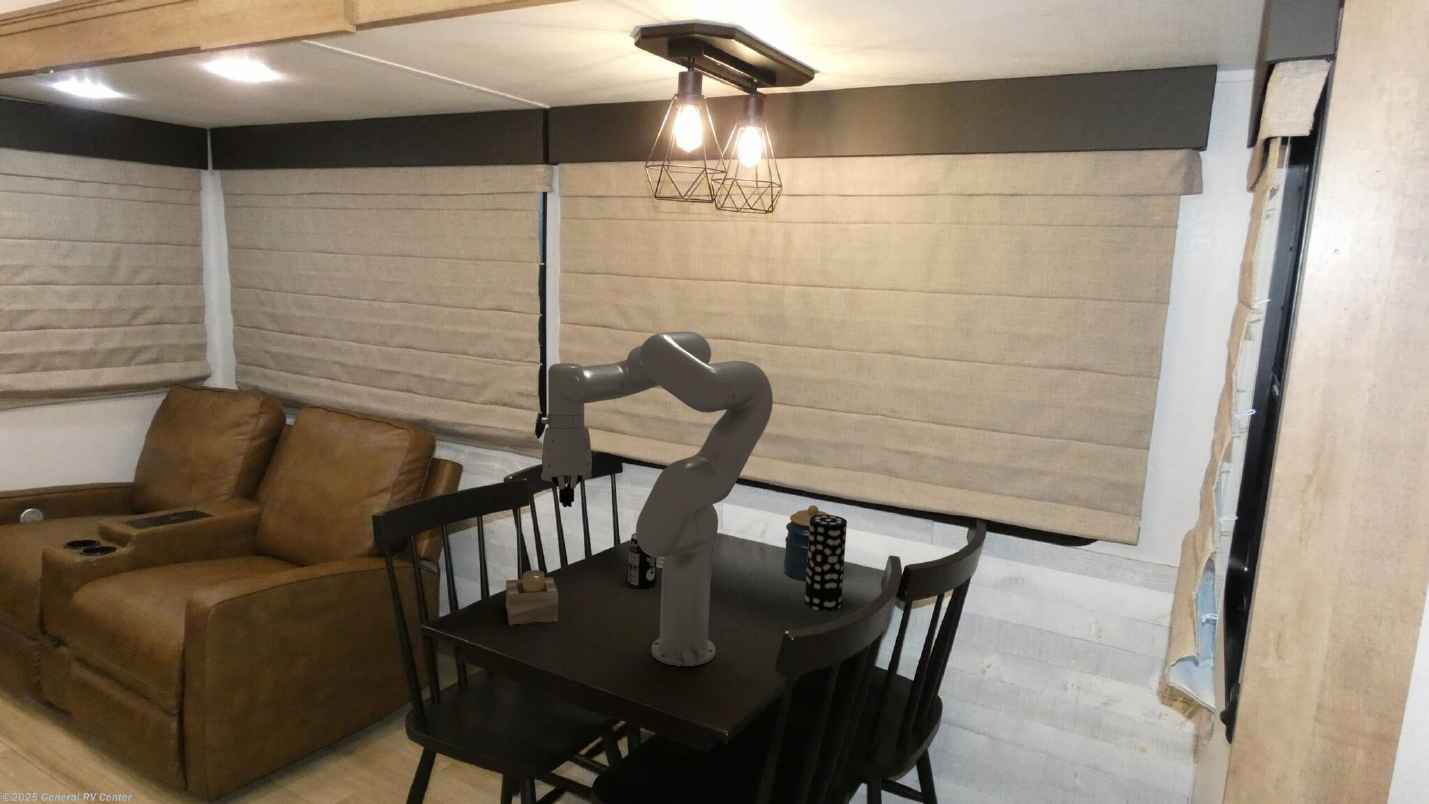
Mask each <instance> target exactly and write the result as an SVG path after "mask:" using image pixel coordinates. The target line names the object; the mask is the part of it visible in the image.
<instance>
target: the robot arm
mask: <svg viewBox="0 0 1429 804" xmlns="http://www.w3.org/2000/svg"><path fill="white" fill-rule="evenodd" d="M711 357H712V349H711V346H710V343H709V342H708V341H707V339H706V338H705V337H704V336H702V335H701V334H700V333H696V332H695V331H694V332H693V331H670V332H660V333H656V334H653V335H652V336H650V337H649V338H647V339H646V340H645V341H644V342H643V344H641V345H639V346H636V347H633V348H632V349H631V351H629V353H628V355H627V358H626V359H624V360H621V361H618V362H613V363H606V364H604V363H603V364H595V365H586V366H582V365H581V364H578V363H573V362H572V363H569V362H563V363H554V364H552V365H550V366H549V368H548V371H547V378H548V379H547V380H548V381H547V384H548V385H547V386H548V387H547V388H548V389H547V390H548V391H547V392H548V393H547V394H548V396H547V397H548V398H547V401H548V403H547V404H548V405H547V406H548V413H547V415H546V416H541V424H545V425H547V426H548V427H545V429H544V433H543V434H544V435H543V439H542V440H543V441H542V452H541V454H542V455H541V467H542V468H541V469H542V471H541V474H540V475H541V476H540V479H541V480H542V481H546V482H552V483H553V484H555V485H556V486H557V487H558V501H559V503H560V504H561V505H562V507H563V508H567V507H568V508H572V503H574V502H575V489H576V487H577V486H578V484H579V483H581V482H582V480H587V479H590V478H592V477H593V475H592V469H593V459H592V449H591V448H592V445H591V437H590V431H589V427H587V426H585V404H590V403H591V404H592V403H596V402H597V403H598V402H602V401H608V400H609V401H610V400H611V401H612V400H617V399H621V398H624V397H625V398H626V397H628V396H632V395H635V394H638V393H641V392H645V391H648V390H650V389H654V388H656V387H661V388H662V389H664V390H665V391H667V392H668V393H669V394H671V395H672V396H674V397H675V398H676V399H678V400H680V402H681V403H683V404H684V405H686V406H688V407H689V408H691V409H692V410H694V411H697V412H700V413H707V414H709V413H716V412H721V411H725V412H724V413H723V415H722V416H721V417H720V418H719V419H718V420H717V422H715V424H714V425H713V426H712V428H711V429H710V431H709V433H708V435H707V438H706V440H705V441H704V443H703V445H702V446H701V448H700V449H699V451H698V452H697V453H696V454H694V455H692V456H690V457H689V456H688V457H685V458H681V459H679V460H677V461H674V462H672V463H670V464H669V465H667V466H666V467H665V468H664V469H663V470H662V471H661V472H660V474H659V475H658V476H657V478H656V481H655V483H654V485H653V487H652V489H651V490H650V493H649V495H648V497H647V499H646V501H645V503H644V505H643V507H642V508H641V511H640V512H639V515H638V518H637V521H636V525H635V533H636V538H637V542H638V544H639V546H640V548H641V549H642V550H643V552H645V553H646V554H647V555H649V556H652V557H657V558H662V557H664V560H663V567H662V569H661V589H660V590H661V591H660V595H661V596H660V617H659V618H660V620H659V621H660V622H659V638H657V639H656V640H655V641H653V642H652V644H651V655H652V657H653V658H654V659H656V660H657V661H659V662H661V663H662V664H664V665H669V666H672V665H675V666H674V667H680V666H684V668H685V667H686V666H691V667H696V666H695V665H697V666H701V664H702V665H704V664H706V663H708V662H710V661H711V660H713V659H714V657H715V656H716V646H715V644H714V642H712V641H711V640H709V624H710V622H709V621H710V601H711V597H710V596H711V580H712V564H713V562H712V560H713V553H714V549H715V544H716V539H717V534H718V528H719V517H718V516H719V515H718V512H717V509H716V508H715V506H714V505H715V504H717V503H720V502H722V501H723V500H726V499H727V497H728V496H729V495H730V493H731V492H732V490H733V488H734V486H735V484H736V482H737V481H738V479H739V477H740V475H741V473H742V471H743V470H744V468H745V465H746V464H747V462H748V460H749V458H750V457H751V454H752V452H753V451H754V449H755V447H756V445H758V444H757V443H758V442H759V440H760V439H761V437H762V435H763V434H764V432H765V430H766V428H767V426H768V423H769V421H770V418H771V415H772V411H773V404H774V403H773V402H774V400H773V399H774V395H773V391H772V386H771V383H770V381H769V378H768V375H766V373H765V372H764V371H763V370H762V368H761V367H759V366H758V365H757V364H754V363H752V362H749V361H743V360H729V361H720V362H714V363H710V361H711ZM564 477H568V482H567V484H565V478H564ZM686 668H687V667H686Z"/></svg>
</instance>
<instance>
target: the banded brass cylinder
mask: <svg viewBox="0 0 1429 804" xmlns="http://www.w3.org/2000/svg"><path fill="white" fill-rule="evenodd" d="M544 578H545V572H544V571H543V570H538V569H537V570H536V569H531V570H527V571H524V572H523V573H522V579H523V593H533V592H544Z"/></svg>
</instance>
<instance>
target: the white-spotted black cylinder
mask: <svg viewBox="0 0 1429 804" xmlns="http://www.w3.org/2000/svg"><path fill="white" fill-rule="evenodd" d="M847 526H848V521H847V519H846V518H844V517H842V516H839V515H833V514H829V515H815V516H812V517H810V525H809V541H808V557H807V573H806V581H805V588H804V589H805V592H804V605H805V606H807V607H808V608H810V609H813V610H817V611H822V612H832V611H837V610H839V609H840V608H842V597H843V586H844V585H843V583H844V569H845V556H846V553H845V552H846V539H847Z"/></svg>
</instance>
